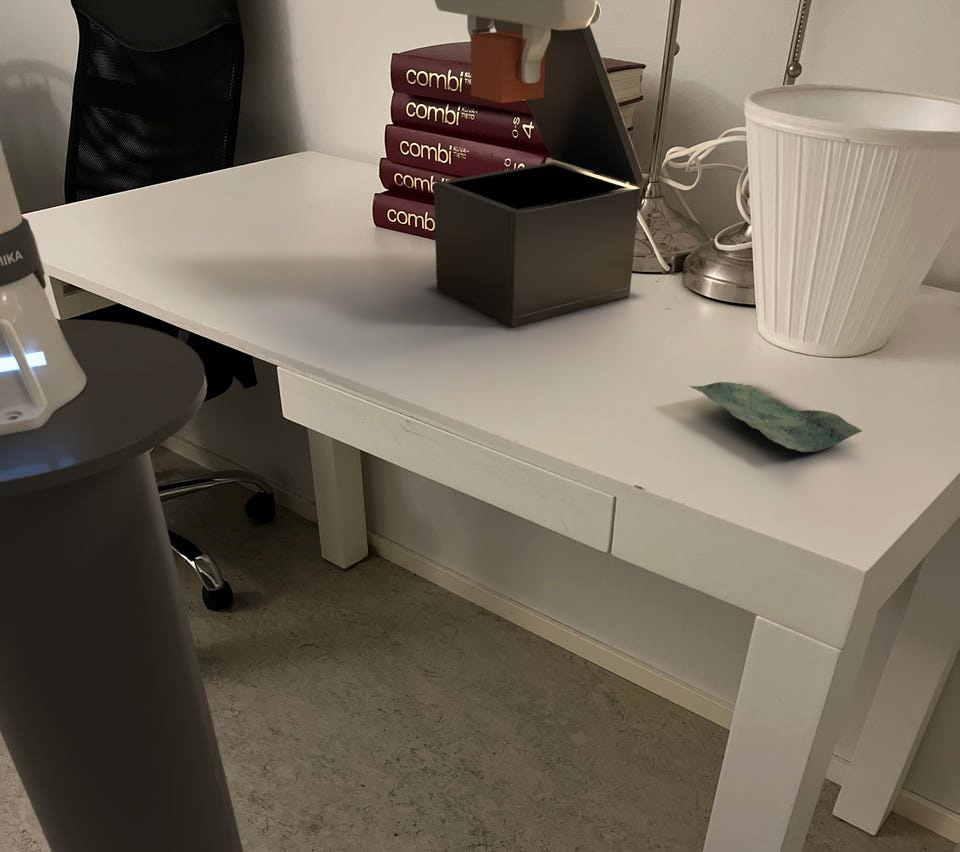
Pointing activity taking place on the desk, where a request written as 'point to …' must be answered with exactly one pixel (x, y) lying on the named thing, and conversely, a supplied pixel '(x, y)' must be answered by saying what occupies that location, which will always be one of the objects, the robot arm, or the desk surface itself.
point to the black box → (534, 241)
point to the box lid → (581, 106)
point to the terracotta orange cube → (501, 68)
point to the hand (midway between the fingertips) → (507, 77)
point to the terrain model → (780, 418)
